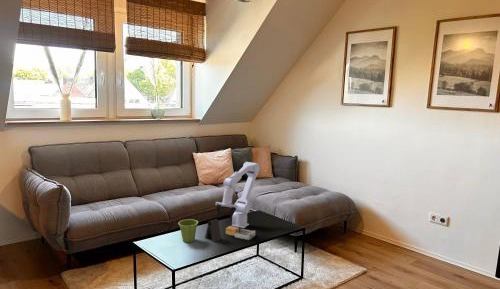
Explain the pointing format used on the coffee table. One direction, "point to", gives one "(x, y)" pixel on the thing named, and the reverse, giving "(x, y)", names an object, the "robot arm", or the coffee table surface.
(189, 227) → the plant pot
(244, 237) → the coupler channel
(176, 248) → the coffee table surface
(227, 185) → the robot arm
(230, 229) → the block
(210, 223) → the dark tent-shaped stand
